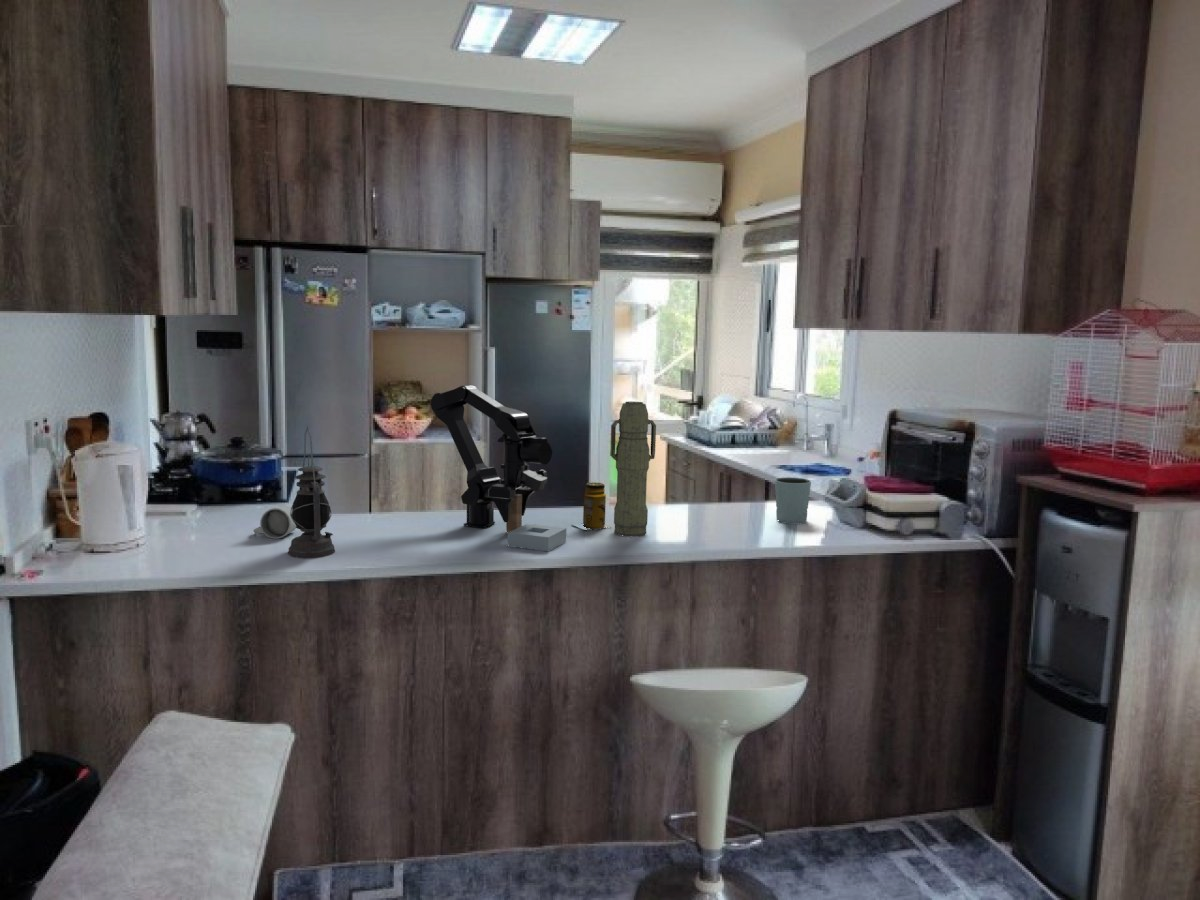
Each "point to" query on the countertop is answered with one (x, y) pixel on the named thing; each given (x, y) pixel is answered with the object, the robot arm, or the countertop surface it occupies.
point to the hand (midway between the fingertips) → (514, 518)
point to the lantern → (311, 513)
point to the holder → (537, 537)
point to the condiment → (594, 506)
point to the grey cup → (792, 499)
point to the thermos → (632, 468)
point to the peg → (515, 514)
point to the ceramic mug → (276, 522)
